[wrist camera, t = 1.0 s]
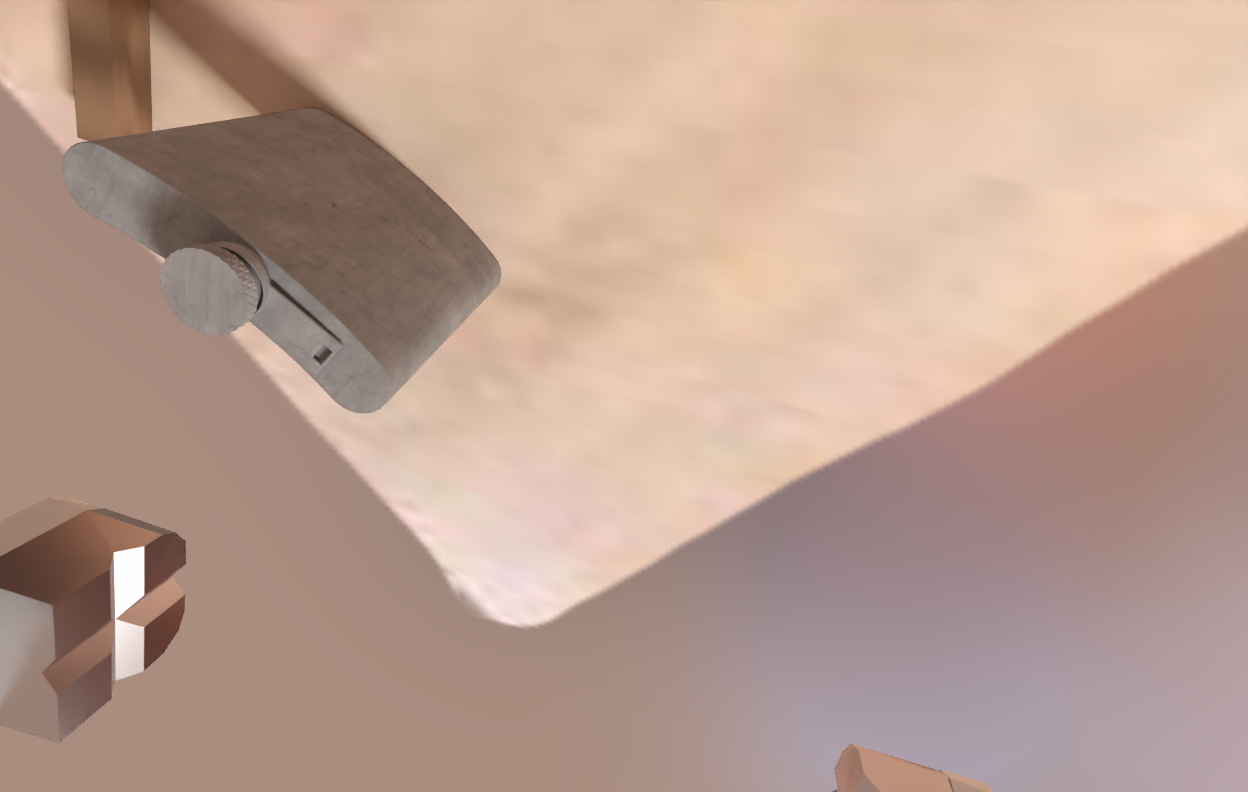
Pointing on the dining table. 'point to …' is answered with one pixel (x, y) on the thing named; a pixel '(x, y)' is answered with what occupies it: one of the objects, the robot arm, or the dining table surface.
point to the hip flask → (294, 242)
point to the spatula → (111, 67)
